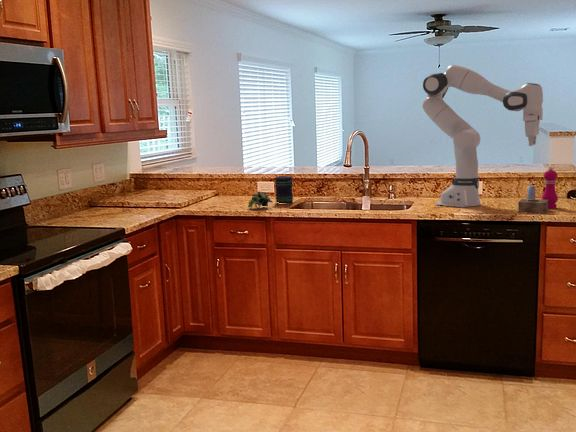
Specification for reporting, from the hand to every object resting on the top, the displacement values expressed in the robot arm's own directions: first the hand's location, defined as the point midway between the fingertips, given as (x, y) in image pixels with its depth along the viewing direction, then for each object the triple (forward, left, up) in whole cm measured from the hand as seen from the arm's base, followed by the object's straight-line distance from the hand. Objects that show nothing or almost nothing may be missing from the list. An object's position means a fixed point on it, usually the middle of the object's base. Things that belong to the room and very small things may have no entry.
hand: (532, 145), depth 296 cm
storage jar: (-129, -22, -31) cm, 135 cm away
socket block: (+3, -14, -30) cm, 34 cm away
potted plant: (-133, -42, -31) cm, 143 cm away
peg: (0, +2, -31) cm, 31 cm away
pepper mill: (+9, -2, -31) cm, 32 cm away
